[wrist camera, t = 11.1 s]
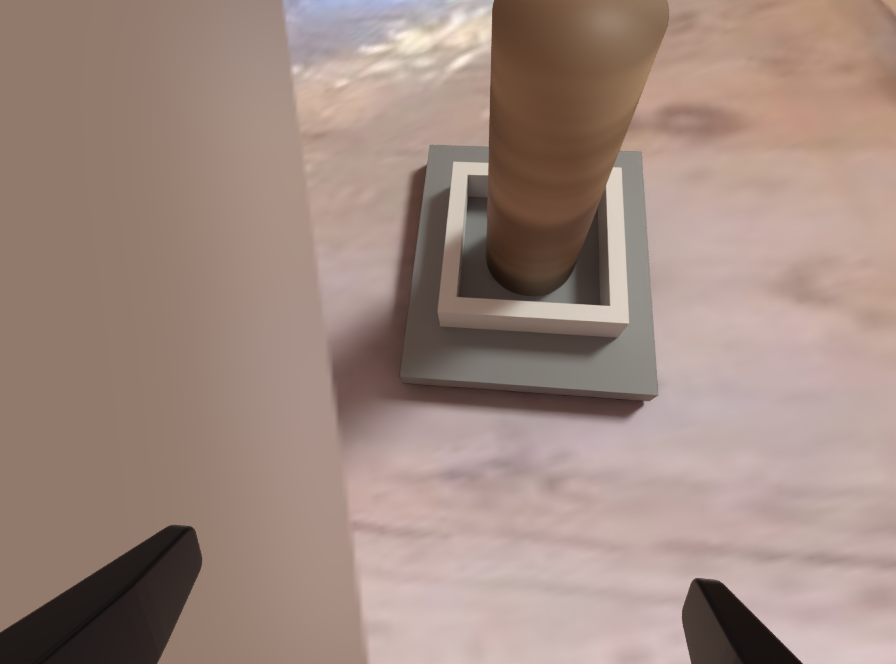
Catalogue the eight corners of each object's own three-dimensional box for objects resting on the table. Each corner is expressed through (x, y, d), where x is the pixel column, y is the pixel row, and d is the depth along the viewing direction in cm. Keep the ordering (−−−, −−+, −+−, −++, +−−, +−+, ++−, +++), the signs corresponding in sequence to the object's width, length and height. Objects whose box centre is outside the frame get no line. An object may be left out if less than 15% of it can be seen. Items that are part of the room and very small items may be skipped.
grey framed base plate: (649, 401, 23) (673, 385, 20) (403, 383, 24) (393, 365, 21) (635, 166, 28) (652, 127, 25) (431, 159, 29) (426, 121, 26)
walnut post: (575, 299, 24) (674, 76, 12) (482, 293, 24) (486, 72, 12) (575, 220, 25) (664, -48, 13) (489, 215, 26) (497, -47, 14)
